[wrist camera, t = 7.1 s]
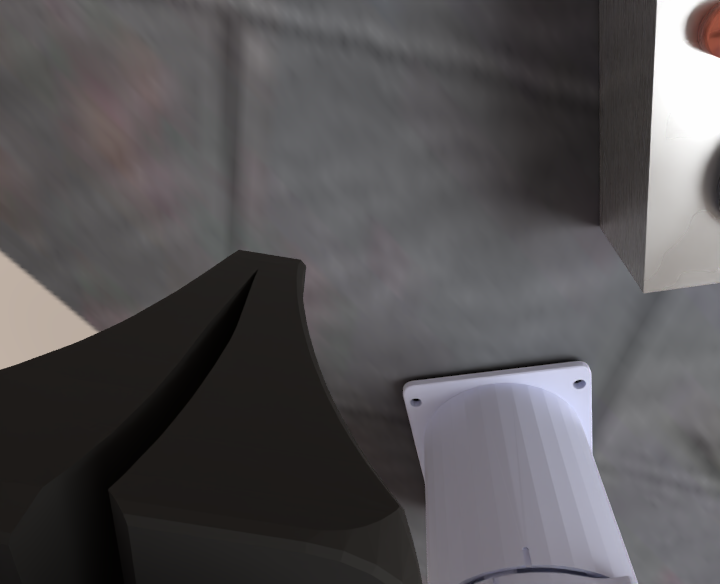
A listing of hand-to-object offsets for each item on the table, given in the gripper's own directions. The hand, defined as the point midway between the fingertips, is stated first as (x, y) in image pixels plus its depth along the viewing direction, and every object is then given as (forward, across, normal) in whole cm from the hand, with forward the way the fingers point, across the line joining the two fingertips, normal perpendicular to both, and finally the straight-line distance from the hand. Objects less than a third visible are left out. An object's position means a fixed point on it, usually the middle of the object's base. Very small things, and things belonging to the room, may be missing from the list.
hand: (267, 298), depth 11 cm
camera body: (+10, -12, -4) cm, 16 cm away
